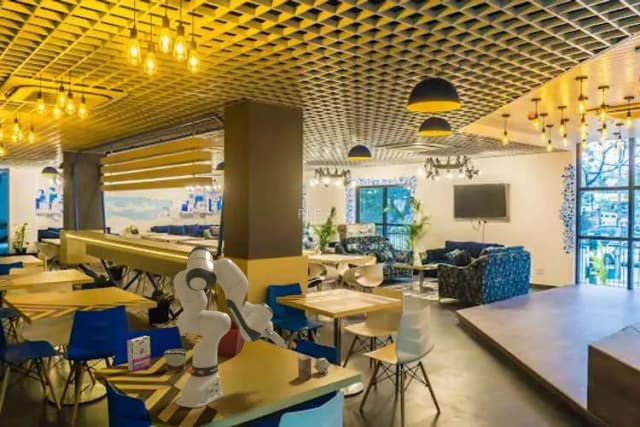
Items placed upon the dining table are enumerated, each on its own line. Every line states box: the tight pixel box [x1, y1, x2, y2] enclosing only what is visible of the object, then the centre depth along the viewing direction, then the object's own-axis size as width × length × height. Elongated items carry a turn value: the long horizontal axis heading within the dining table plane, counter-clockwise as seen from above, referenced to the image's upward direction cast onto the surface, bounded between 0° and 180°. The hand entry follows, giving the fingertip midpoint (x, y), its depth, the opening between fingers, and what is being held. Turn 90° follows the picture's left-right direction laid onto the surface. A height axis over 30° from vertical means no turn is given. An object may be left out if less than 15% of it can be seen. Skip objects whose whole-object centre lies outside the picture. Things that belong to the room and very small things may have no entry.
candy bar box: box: [126, 335, 152, 373], centre depth 272 cm, size 11×5×16 cm, turn 143°
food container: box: [163, 348, 188, 372], centre depth 271 cm, size 12×6×10 cm, turn 84°
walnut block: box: [297, 355, 312, 381], centre depth 255 cm, size 5×5×10 cm
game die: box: [312, 355, 332, 375], centre depth 262 cm, size 9×8×10 cm
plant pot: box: [217, 320, 246, 357], centre depth 298 cm, size 19×19×17 cm
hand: (283, 345), depth 249 cm, fingers open, 8 cm apart
